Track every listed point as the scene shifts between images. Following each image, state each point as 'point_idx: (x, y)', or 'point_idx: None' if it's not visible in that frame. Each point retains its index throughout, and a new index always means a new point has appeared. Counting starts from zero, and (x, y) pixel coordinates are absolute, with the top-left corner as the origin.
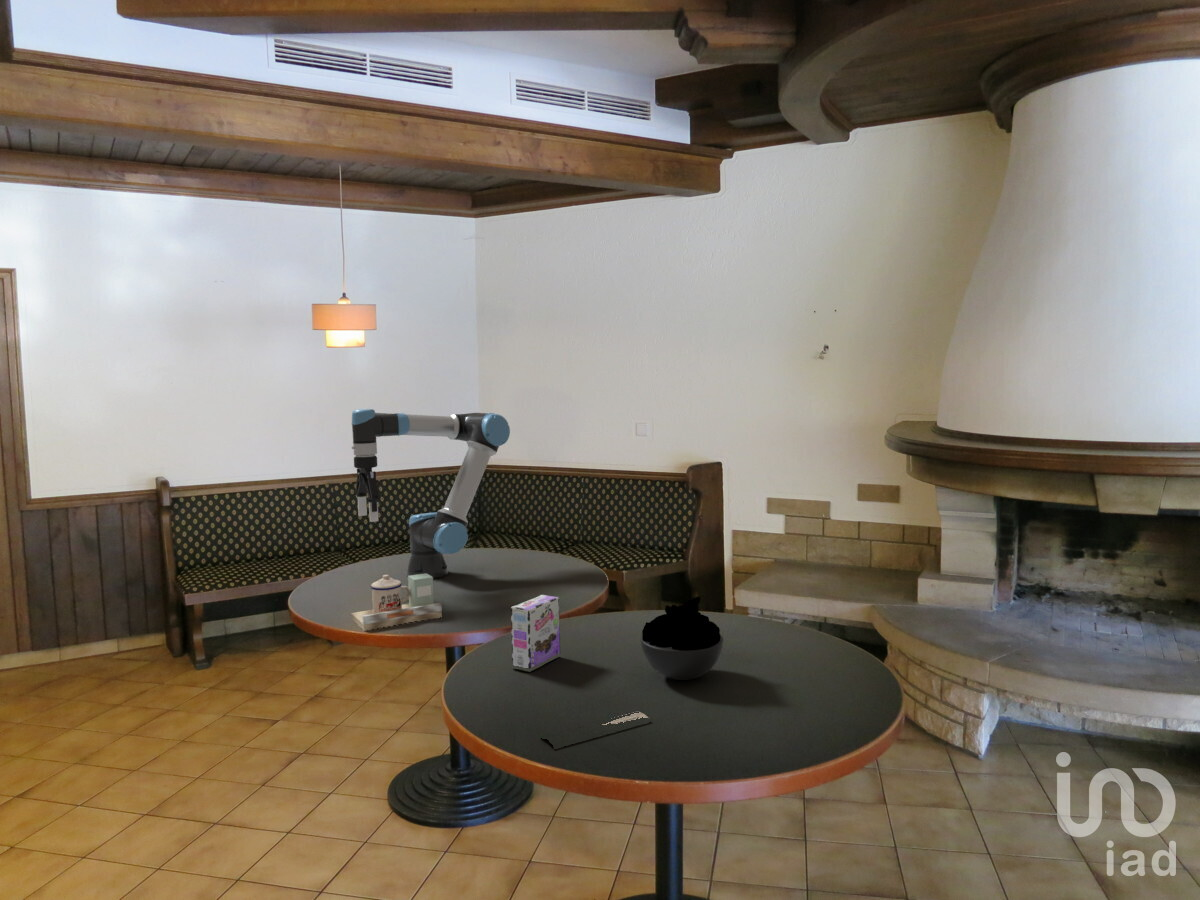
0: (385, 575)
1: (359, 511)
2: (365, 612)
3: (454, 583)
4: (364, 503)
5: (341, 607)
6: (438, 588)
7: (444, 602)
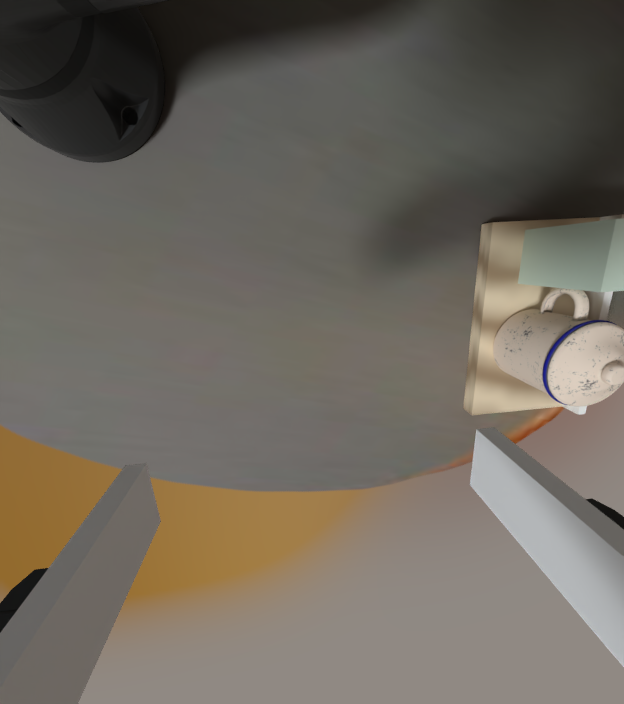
0: (621, 377)
1: (142, 553)
2: (488, 387)
3: (272, 24)
4: (83, 590)
5: (355, 413)
6: (310, 113)
7: (474, 159)
